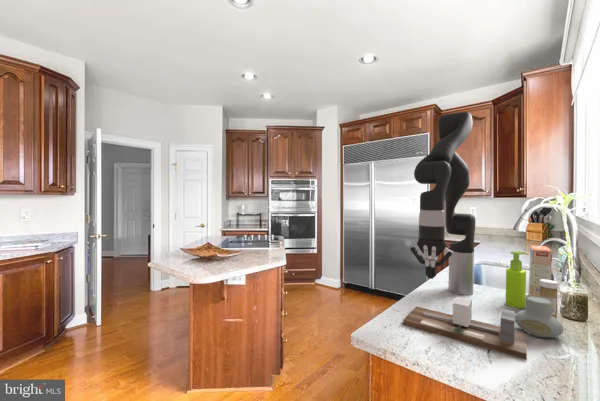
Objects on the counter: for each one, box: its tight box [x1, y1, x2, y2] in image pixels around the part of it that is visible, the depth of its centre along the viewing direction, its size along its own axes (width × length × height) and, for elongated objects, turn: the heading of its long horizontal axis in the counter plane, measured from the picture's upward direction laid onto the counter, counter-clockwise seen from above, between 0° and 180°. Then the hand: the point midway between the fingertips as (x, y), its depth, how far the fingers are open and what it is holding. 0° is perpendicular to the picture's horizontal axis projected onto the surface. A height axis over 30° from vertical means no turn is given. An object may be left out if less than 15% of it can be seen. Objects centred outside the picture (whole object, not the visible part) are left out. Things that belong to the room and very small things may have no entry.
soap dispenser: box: [505, 251, 530, 309], centre depth 105 cm, size 6×7×20 cm
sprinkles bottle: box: [539, 279, 559, 320], centre depth 91 cm, size 5×5×14 cm
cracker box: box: [528, 244, 553, 298], centre depth 110 cm, size 14×6×21 cm, turn 143°
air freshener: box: [515, 296, 564, 339], centre depth 83 cm, size 11×8×10 cm
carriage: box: [452, 296, 473, 331], centre depth 83 cm, size 11×4×6 cm, turn 142°
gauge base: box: [402, 306, 528, 360], centre depth 84 cm, size 14×30×8 cm, turn 52°
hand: (430, 277), depth 90 cm, fingers closed
